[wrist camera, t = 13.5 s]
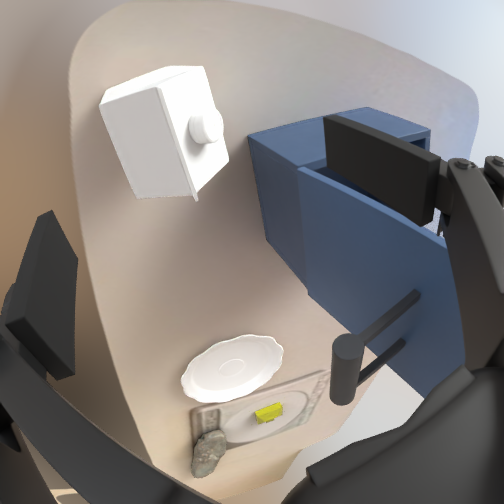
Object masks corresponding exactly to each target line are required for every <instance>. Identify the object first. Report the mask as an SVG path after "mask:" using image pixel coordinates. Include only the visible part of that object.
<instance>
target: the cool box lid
mask: <svg viewBox="0 0 504 504" xmlns="http://www.w3.org/2000/svg"><path fill="white" fill-rule="evenodd" d="M297 177H298V186H299V195H300V205H301V215H302V226H303V237H304V248H305V261H306V273H307V287H308V295H309V296H310V297H311V298H312V299H313V300H315V301H316V302H317V303H318V304H319V305H320V306H321V307H322V308H324V309H325V310H326V311H327V312H328V313H329V314H330V315H331V316H333V317H334V318H335V319H336V320H337V321H338V322H339V323H340V324H342V325H343V326H344V327H345V328H346V329H347V330H348V331H349V332H351V333H352V334H350V333H347V334H342V335H340V336H338V337H337V338H336V339H335V340H334V342H333V345H332V364H331V380H330V399H331V401H332V402H333V403H334V404H336V405H340V406H343V405H347V404H349V403H350V402H352V400H353V399H354V396H355V392H356V388H357V387H358V386H359V385H360V384H362V383H363V382H364V381H365V380H367V379H368V378H369V377H370V376H371V375H373V374H374V373H375V372H376V371H377V370H379V369H380V368H381V367H382V366H383V365H384V364H387V365H388V366H389V367H390V368H391V369H392V370H393V371H394V372H396V373H397V374H398V375H399V376H400V377H401V378H402V379H403V380H404V381H406V382H407V383H408V384H409V385H410V386H411V387H412V388H414V389H415V390H416V391H417V392H418V393H419V394H420V395H421V396H422V397H423V398H424V399H425V398H426V397H427V395H428V394H429V393H430V391H431V390H432V389H433V388H434V387H435V386H436V385H438V384H439V383H440V382H441V381H443V380H444V379H445V378H446V377H447V376H449V375H450V374H451V373H452V372H453V371H455V370H456V369H457V368H458V367H459V366H460V365H461V364H463V365H465V348H464V339H463V331H462V324H461V317H460V310H459V304H458V298H457V293H456V287H455V282H454V277H453V272H452V268H451V263H450V259H449V254H448V250H447V246H446V242H445V239H444V238H442V237H441V236H437V234H435V233H434V232H432V231H430V230H428V229H427V228H425V227H423V226H422V227H419V226H418V225H416V224H415V223H413V222H412V221H411V220H409V219H408V218H406V217H405V216H403V215H401V214H399V213H398V212H396V211H394V210H392V209H390V208H388V207H386V206H384V205H382V204H380V203H379V202H377V201H375V200H373V199H371V198H369V197H367V196H365V195H363V194H361V193H359V192H357V191H355V190H353V189H351V188H349V187H347V186H344V185H342V184H340V183H338V182H336V181H334V180H332V179H330V178H328V177H325V176H323V175H321V174H319V173H317V172H315V171H312V170H310V169H308V168H306V167H301V168H298V169H297ZM365 346H366V347H367V348H369V349H370V350H371V351H372V352H373V353H374V354H375V355H376V356H378V357H377V358H376V359H375V360H374V361H373V362H371V363H370V364H369V365H368V366H367V367H365V368H364V369H363V370H362V371H360V369H361V364H362V359H363V354H364V348H365Z"/></svg>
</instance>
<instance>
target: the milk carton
mask: <svg viewBox="0 0 504 504" xmlns="http://www.w3.org/2000/svg"><path fill="white" fill-rule="evenodd" d="M99 109H100V112H101V115H102V117H103V120H104V123H105V125H106V128H107V130H108V133H109V135H110V138H111V140H112V143H113V145H114V148H115V150H116V153H117V155H118V157H119V160H120V162H121V165H122V167H123V169H124V172H125V174H126V176H127V179H128V181H129V183H130V186H131V188H132V190H133V192H134V194H135V196H136V198H137V199H145V198H160V197H175V196H193V198H194V200H195V201H196V202H198V201H199V199H198V196H197V192H198V191H199V190H200V189H201V188H202V187H203V186H204V185H205V184H206V183H207V182H208V181H209V180H210V179H211V178H212V177H213V176H214V175H215V174H216V173H217V172H218V171H219V170H220V169H222V168H223V167H224V166H225V165H226V164H227V163H228V162H229V157H228V153H227V149H226V145H225V141H224V138H223V120H222V117H221V115H220V113H219V112H218V111H217V110H216V109H215V105H214V102H213V98H212V95H211V91H210V87H209V84H208V80H207V77H206V74H205V71H204V68H203V67H201V66H166V67H163V68H160V69H158V70H155V71H152V72H149V73H147V74H144V75H141V76H139V77H136V78H133V79H131V80H128V81H126V82H124V83H121V84H119V85H116V86H114V87H112V88H109V89H107V90H106V91H105V94H104V96H103V98H102V100H101V102H100V105H99Z"/></svg>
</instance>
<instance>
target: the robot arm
mask: <svg viewBox="0 0 504 504" xmlns="http://www.w3.org/2000/svg"><path fill="white" fill-rule="evenodd" d="M323 125H324V137H325V150H326V163H327V167H328V168H329V169H331V170H333V171H334V172H336V173H338V174H339V175H341V176H343V177H344V178H346V179H348V180H349V181H351V182H353V183H354V184H356V185H357V186H359V187H361V188H362V189H364V190H365V191H367V192H369V193H370V194H372V195H373V196H375V197H376V198H378V199H379V200H381V201H382V202H384V203H385V204H387V205H388V206H390V207H391V208H393V209H394V210H396V211H397V212H399V213H400V214H402V215H403V216H405V217H406V218H408V219H409V220H411V221H412V222H413V223H415V224H416V225H418V226H419V227H422V226H424V225H426V224H428V223H430V222H432V221H433V215H434V209H435V208H437V209H438V210H440V211H441V214H440V220H439V225H438V230H437V236H439V235H440V232H442V231H443V237H444V238H445V242H446V246H447V250H448V254H449V259H450V263H451V268H452V272H453V277H454V282H455V287H456V293H457V298H458V304H459V310H460V317H461V324H462V331H463V339H464V348H465V365H463V364H461V365H460V366H459V367H458V368H457V369H456V370H455V371H453V372H452V373H451V374H450V375H449V376H447V377H446V378H445V379H444V380H443V381H441V382H440V383H439V384H438V385H436V386H435V387H434V388H433V389H432V390H431V391H430V393H429V394H428V395H427V397H426V398H425V399H424V401H423V402H422V403H421V404H420V406H419V407H418V408H417V409H416V411H415V412H414V413H413V414H412V416H411V417H410V418H409V419H408V420H407V422H406V423H404V424H403V425H402V426H400V427H397V428H395V429H393V430H390V431H387V432H384V433H381V434H378V435H375V436H373V437H370V438H367V439H363V440H360V441H357V442H354V443H352V444H350V445H348V446H346V447H344V448H343V449H341V450H339V451H337V452H336V453H334V454H332V455H330V456H328V457H326V458H324V459H322V460H321V461H319V462H317V463H315V464H313V465H311V466H309V467H307V468H306V474H307V476H306V477H305V478H304V479H303V480H302V481H301V482H299V483H298V484H297V485H296V486H295V487H294V488H293V489H292V490H291V491H290V493H288V495H287V496H286V497H285V499H284V500H283V501H282V503H281V504H504V209H503V208H504V159H503V158H501V157H498V156H487V157H486V158H485V165H484V168H478V167H477V166H476V165H475V164H474V163H473V162H471V161H468V160H466V159H463V158H453V159H450V160H448V162H446V161H444V160H442V159H441V157H439V156H437V155H435V154H433V153H431V152H429V151H427V150H424V149H422V148H420V147H418V146H416V145H413V144H411V143H409V142H406V141H404V140H402V139H399V138H397V137H395V136H392V135H390V134H387V133H385V132H382V131H380V130H377V129H375V128H372V127H369V126H367V125H364V124H361V123H359V122H356V121H353V120H350V119H348V118H345V117H342V116H339V115H336V114H334V115H329V116H325V117H323ZM77 267H78V258H77V256H76V254H75V253H74V251H73V249H72V247H71V246H70V244H69V242H68V240H67V238H66V236H65V234H64V232H63V231H62V228H61V226H60V225H59V223H58V221H57V219H56V217H55V215H54V213H53V211H52V210H51V211H49V212H47V213H44V214H43V215H40V216H39V217H38V218H37V221H36V223H35V226H34V229H33V231H32V234H31V236H30V239H29V242H28V245H27V248H26V250H25V253H24V256H23V259H22V262H21V266H20V269H19V272H18V275H17V279H16V282H15V283H14V284H12V286H11V287H10V289H9V291H8V292H7V294H6V296H5V300H4V304H3V307H2V311H1V314H2V315H0V504H58V503H57V502H56V500H55V498H54V497H53V495H52V493H51V492H50V490H49V488H48V487H47V485H46V483H45V481H44V479H43V477H42V476H41V474H40V472H39V470H38V468H37V466H36V464H35V462H34V460H33V458H32V456H31V454H30V452H29V450H28V448H27V445H26V443H25V441H24V439H23V437H22V434H21V432H20V430H19V428H20V429H21V431H22V432H23V433H24V435H25V436H26V437H27V438H28V439H29V441H30V442H31V443H32V444H33V446H34V447H35V448H36V449H37V450H38V451H39V453H40V454H41V455H42V456H43V457H44V458H45V459H46V460H47V462H48V463H49V464H50V465H51V466H52V467H53V468H54V469H55V470H56V471H57V472H58V473H59V474H60V475H61V476H62V478H64V480H66V482H68V484H69V485H70V486H72V487H73V488H74V489H75V490H76V491H77V492H78V493H79V494H80V495H81V496H82V497H83V498H84V499H85V500H86V501H88V502H89V503H90V504H221V503H219V502H217V501H215V500H213V499H211V498H209V497H207V496H205V495H203V494H201V493H200V492H198V491H196V490H194V489H192V488H190V487H189V486H187V485H185V484H183V483H181V482H180V481H178V480H176V479H175V478H173V477H171V476H169V475H168V474H166V473H165V472H163V471H161V470H160V469H158V468H156V467H155V466H153V465H152V464H150V463H149V462H147V461H146V460H144V459H143V458H141V457H140V456H138V455H137V454H135V453H133V452H132V451H131V450H129V449H128V448H127V447H125V446H124V445H122V444H121V443H120V442H118V441H117V440H115V439H114V438H113V437H111V436H110V435H109V434H108V433H106V432H105V431H103V430H102V429H101V428H100V427H99V426H97V425H96V424H95V423H93V422H92V421H91V420H90V419H89V418H87V417H86V416H85V415H84V414H82V413H81V412H80V411H79V410H78V409H77V408H75V407H74V406H73V405H72V404H71V403H70V402H68V400H66V399H65V398H64V397H63V396H62V395H61V394H60V393H59V392H57V390H56V389H54V388H53V387H52V386H51V385H50V384H49V383H48V382H47V381H46V372H47V371H48V372H49V373H50V374H51V375H52V376H53V377H54V378H55V379H56V380H60V379H63V378H66V377H69V376H72V375H75V349H74V329H75V328H74V327H75V296H76V280H77V279H76V278H77Z"/></svg>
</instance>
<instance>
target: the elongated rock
mask: <svg viewBox="0 0 504 504" xmlns="http://www.w3.org/2000/svg"><path fill="white" fill-rule="evenodd" d="M226 443H227V440H226V435H225V433H224V432H223V431H221V430H216V431H212V432H208V433H206V434H203V435H202V437H201V438H200V439H198V441H197V444H196V446H194V447H193V448H195V449H194V455H193V456H194V457H193V461H192V465H191V466H192V467H191V468H192V470H191V473H192V474H193V476H194V478H195V477H196V478H203V477H206V476H208V475H209V474H211V473H212V472H213V471H214V469H215V467H216V466H217V464H218V462H219V460H220V458H221V457H222V456H223V455H224V454H225V452H226V445H227V444H226Z"/></svg>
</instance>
